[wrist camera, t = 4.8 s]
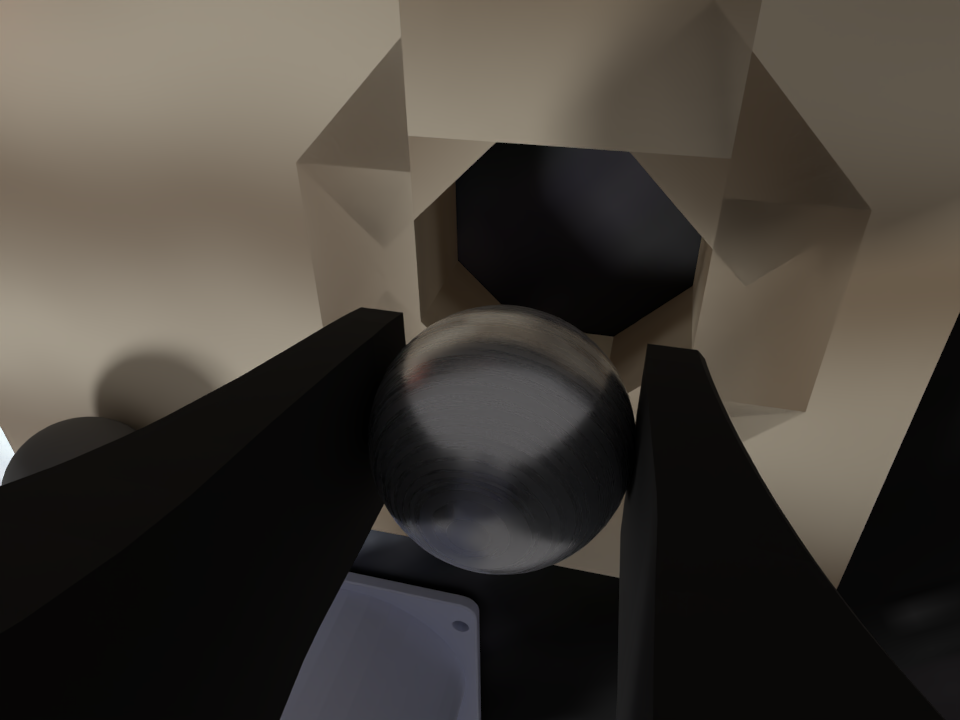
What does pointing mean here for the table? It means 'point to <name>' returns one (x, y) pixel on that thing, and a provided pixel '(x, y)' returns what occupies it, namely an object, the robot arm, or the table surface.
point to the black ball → (63, 444)
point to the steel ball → (501, 439)
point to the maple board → (432, 201)
